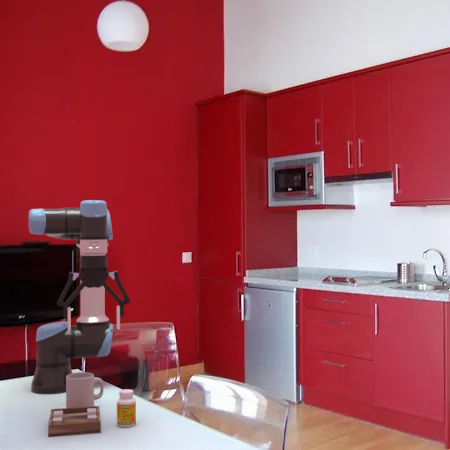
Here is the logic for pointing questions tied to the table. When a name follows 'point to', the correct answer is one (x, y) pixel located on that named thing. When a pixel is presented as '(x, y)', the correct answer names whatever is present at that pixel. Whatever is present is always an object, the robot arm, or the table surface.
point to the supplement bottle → (126, 409)
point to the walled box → (74, 421)
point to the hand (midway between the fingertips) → (94, 329)
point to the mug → (82, 389)
